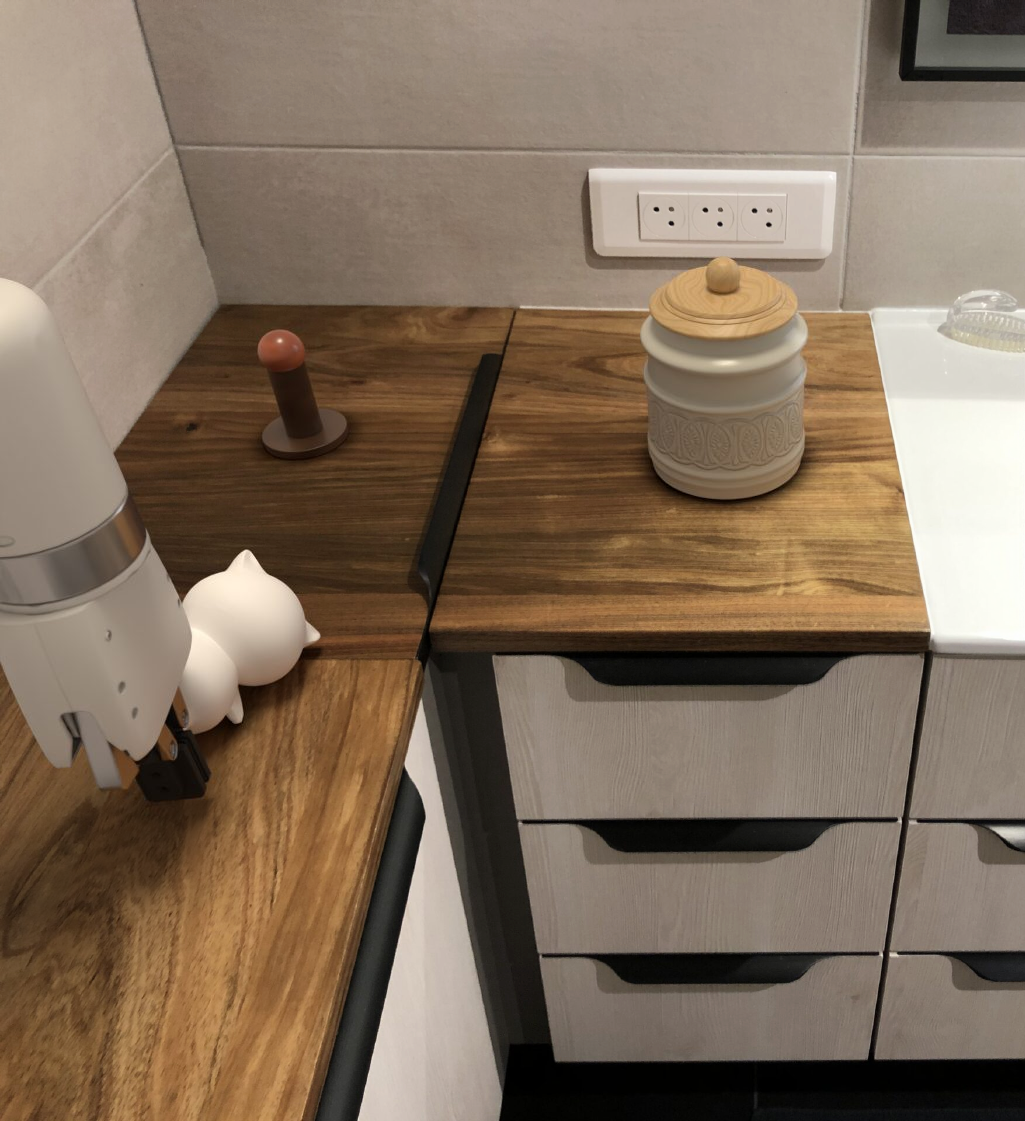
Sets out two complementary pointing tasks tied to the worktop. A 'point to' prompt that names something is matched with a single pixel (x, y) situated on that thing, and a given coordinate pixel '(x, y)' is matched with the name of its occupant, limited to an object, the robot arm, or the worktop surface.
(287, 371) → the marker post
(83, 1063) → the worktop surface
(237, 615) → the cat figurine
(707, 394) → the jar
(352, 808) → the worktop surface
